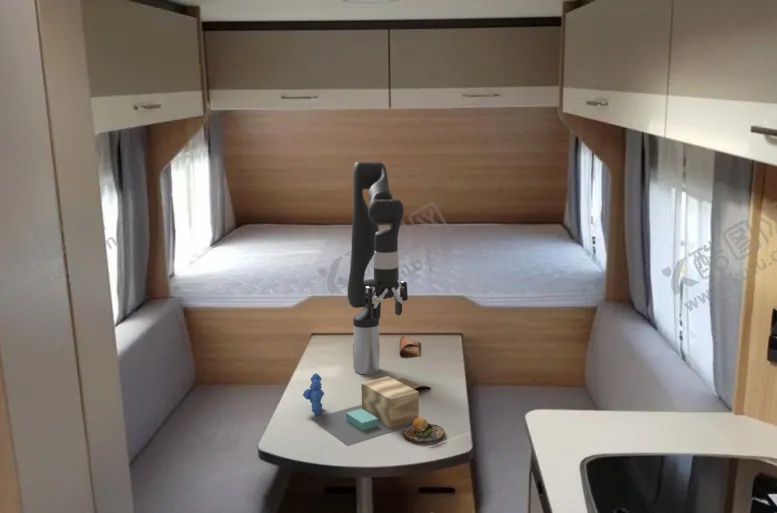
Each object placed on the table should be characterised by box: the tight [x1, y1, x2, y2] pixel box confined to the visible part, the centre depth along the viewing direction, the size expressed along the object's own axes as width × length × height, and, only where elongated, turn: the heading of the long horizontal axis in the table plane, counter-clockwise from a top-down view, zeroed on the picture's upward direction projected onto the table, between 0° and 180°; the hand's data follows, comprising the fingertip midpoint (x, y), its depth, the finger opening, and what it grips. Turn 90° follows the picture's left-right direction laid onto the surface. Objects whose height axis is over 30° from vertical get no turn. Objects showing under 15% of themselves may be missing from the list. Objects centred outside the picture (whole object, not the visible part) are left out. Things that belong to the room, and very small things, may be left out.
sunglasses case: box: [399, 335, 422, 358], centre depth 273 cm, size 18×7×7 cm
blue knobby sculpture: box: [302, 373, 325, 416], centre depth 214 cm, size 12×7×12 cm, turn 6°
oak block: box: [360, 375, 420, 428], centre depth 210 cm, size 16×10×9 cm, turn 34°
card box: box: [346, 409, 378, 431], centre depth 205 cm, size 9×6×2 cm, turn 34°
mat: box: [310, 404, 413, 447], centre depth 208 cm, size 22×26×1 cm
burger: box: [402, 416, 446, 446], centre depth 197 cm, size 12×12×8 cm
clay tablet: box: [394, 378, 431, 390], centre depth 231 cm, size 16×11×3 cm
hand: (386, 316), depth 212 cm, fingers open, 8 cm apart
